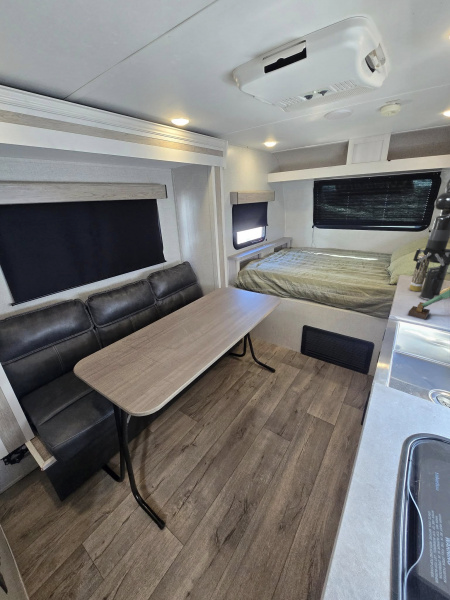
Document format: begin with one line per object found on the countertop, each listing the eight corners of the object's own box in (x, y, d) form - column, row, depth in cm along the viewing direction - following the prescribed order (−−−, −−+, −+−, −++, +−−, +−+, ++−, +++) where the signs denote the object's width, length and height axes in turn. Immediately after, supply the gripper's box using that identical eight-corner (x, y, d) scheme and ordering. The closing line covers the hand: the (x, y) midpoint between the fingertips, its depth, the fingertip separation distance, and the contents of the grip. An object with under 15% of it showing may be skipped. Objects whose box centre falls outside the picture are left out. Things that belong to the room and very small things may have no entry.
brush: (417, 302, 141) (452, 284, 127) (422, 308, 140) (458, 290, 126) (415, 305, 138) (450, 286, 124) (420, 311, 137) (457, 292, 123)
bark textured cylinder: (416, 288, 178) (426, 255, 168) (423, 291, 172) (433, 257, 162) (407, 288, 179) (416, 255, 169) (412, 291, 173) (422, 257, 163)
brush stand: (411, 310, 146) (415, 299, 143) (428, 314, 140) (432, 303, 138) (407, 315, 140) (411, 304, 138) (425, 319, 135) (428, 308, 132)
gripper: (459, 238, 113) (447, 271, 120) (421, 236, 122) (412, 266, 129) (457, 241, 108) (445, 275, 115) (418, 238, 117) (409, 270, 124)
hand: (428, 271), depth 122 cm, fingers open, 8 cm apart
